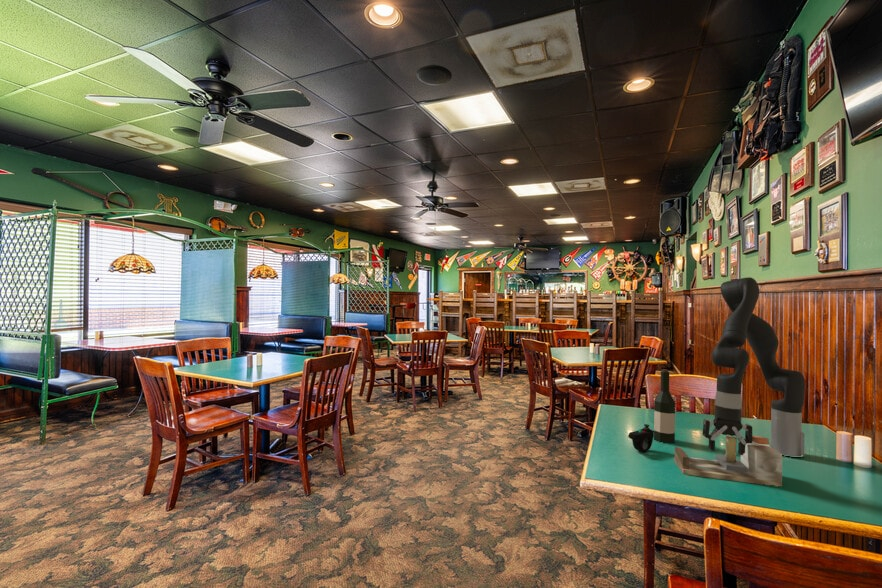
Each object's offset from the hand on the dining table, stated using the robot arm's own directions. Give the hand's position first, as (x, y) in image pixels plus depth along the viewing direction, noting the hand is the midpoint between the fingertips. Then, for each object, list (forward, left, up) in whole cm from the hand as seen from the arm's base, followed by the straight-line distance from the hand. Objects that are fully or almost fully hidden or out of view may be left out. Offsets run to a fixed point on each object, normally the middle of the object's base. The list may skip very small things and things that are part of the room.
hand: (726, 452), depth 138 cm
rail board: (+1, 0, -7) cm, 7 cm away
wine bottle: (+13, -30, -7) cm, 33 cm away
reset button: (-10, 0, +5) cm, 11 cm away
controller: (+25, -12, -7) cm, 28 cm away
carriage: (-1, 0, -4) cm, 5 cm away
